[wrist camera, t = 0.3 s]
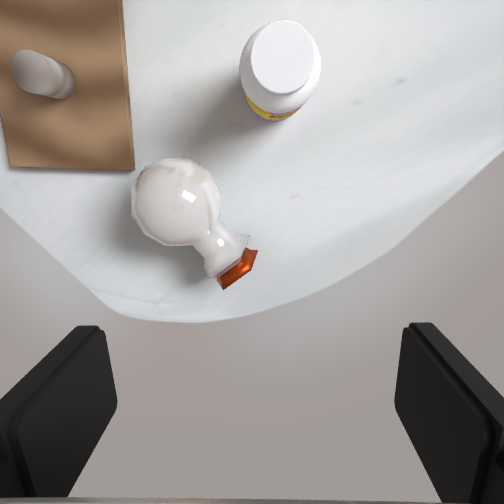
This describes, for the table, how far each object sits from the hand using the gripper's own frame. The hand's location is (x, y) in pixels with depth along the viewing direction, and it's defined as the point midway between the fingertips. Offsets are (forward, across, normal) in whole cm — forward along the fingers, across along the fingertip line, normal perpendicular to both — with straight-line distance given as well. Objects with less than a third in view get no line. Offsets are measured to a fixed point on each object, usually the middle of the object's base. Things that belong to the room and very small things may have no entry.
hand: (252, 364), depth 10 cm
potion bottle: (+31, +7, +1) cm, 32 cm away
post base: (+31, +21, -14) cm, 40 cm away
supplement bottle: (+31, -2, -12) cm, 33 cm away
